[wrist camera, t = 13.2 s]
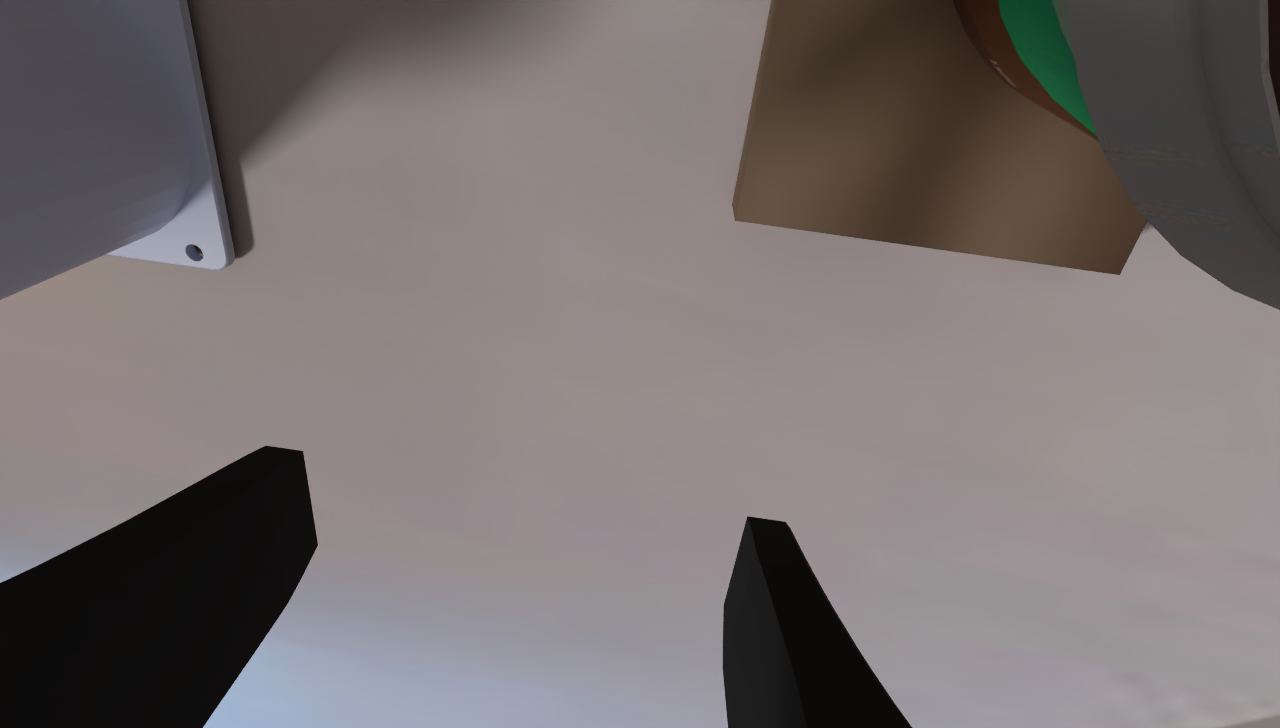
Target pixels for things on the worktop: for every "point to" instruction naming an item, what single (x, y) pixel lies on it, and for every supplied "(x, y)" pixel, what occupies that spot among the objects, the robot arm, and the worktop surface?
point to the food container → (1163, 111)
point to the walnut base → (919, 143)
